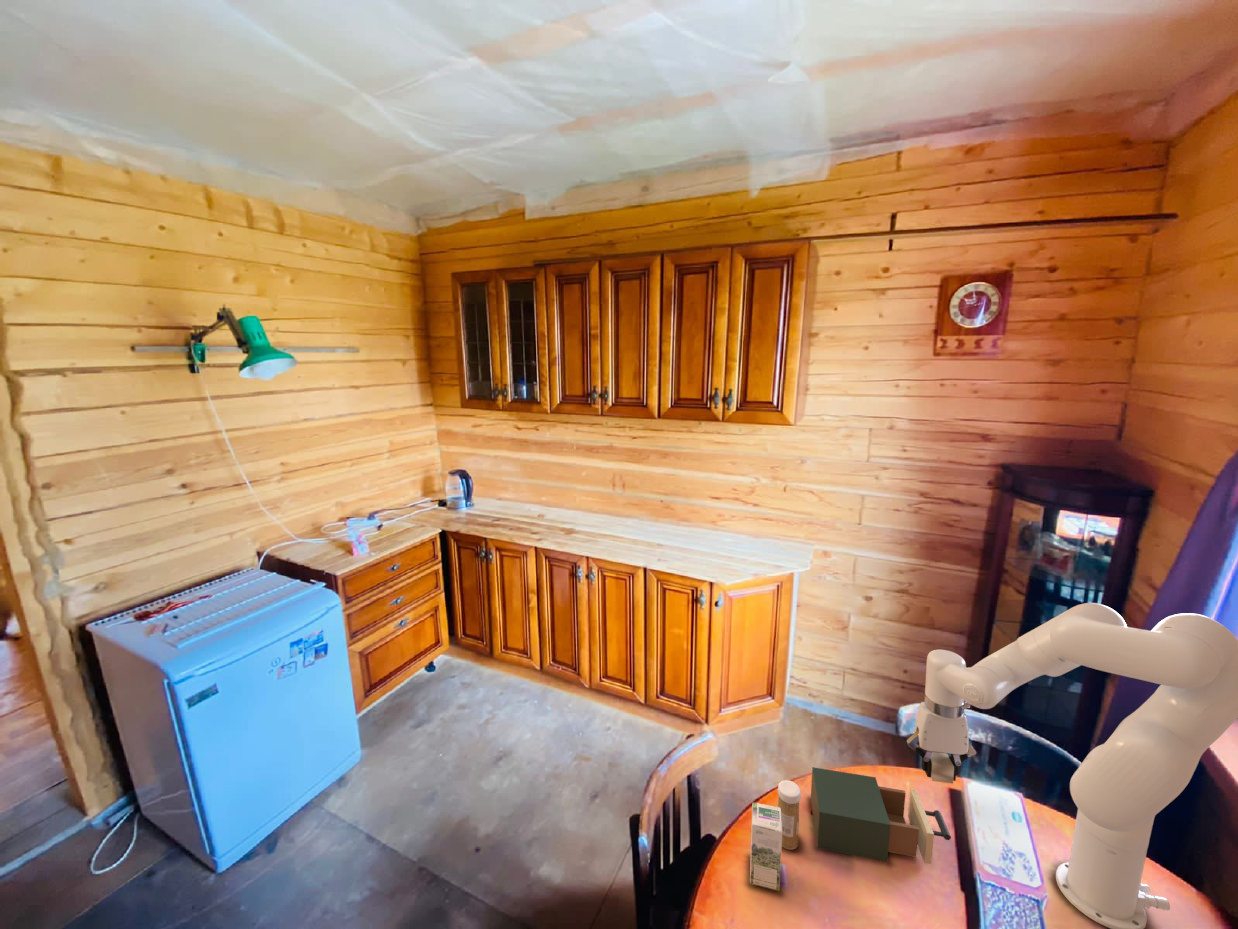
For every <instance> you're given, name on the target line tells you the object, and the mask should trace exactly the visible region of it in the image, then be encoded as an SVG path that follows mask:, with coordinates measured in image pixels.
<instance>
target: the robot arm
mask: <svg viewBox="0 0 1238 929" xmlns="http://www.w3.org/2000/svg"><path fill="white" fill-rule="evenodd" d="M1081 666H1083V667H1086V668H1091V669H1094V670H1097V671H1101V672H1105V673H1110V674H1113V675H1118V676H1122V677H1126V678H1132V679H1136V680H1139V681H1140V680H1141V681H1143V682H1144V681H1145V682H1149V683H1154V684H1157V685H1159V686H1158V687H1157V688H1156V690H1155V691H1154V693H1152V695H1150V697H1148V699H1146V700H1145V702H1143V703H1142V704H1141V705H1140V706H1139V707H1138V708H1137V709H1135V711H1133V712H1132V713H1130V714H1129V715H1127V716H1126V717H1125V718H1124V719H1123V720H1122V721H1121V722H1120V723H1119V724H1118V725H1117V727H1116V728H1115V729H1114V731H1113V733H1112V734H1111V735H1110V736H1109V737H1108V738H1107V740H1106V741H1105V742H1104V743H1102V744H1100V745H1097V746H1095V747H1094V748H1092V749H1091V751H1090V752H1089V753H1088V754H1087V755H1086V757H1085V758H1084V759H1083V761H1082V762H1081V763H1080V764H1079V766H1078V768H1077V769H1076V770H1075V771H1074V773H1073V775H1072V776H1071V778H1070V781H1069V793H1070V796H1071V799H1072V801H1073V803H1074V804H1075V806H1076V808H1077V811H1076V817H1075V823H1074V829H1073V834H1072V835H1073V837H1072V842H1071V849H1070V853H1069V854H1070V855H1069V860H1068V861H1066V862H1063V863H1060V864H1059V865H1058V866H1057V868H1056V871H1055V881H1056V884H1057V886H1058V888H1059V890H1060V892H1061V893H1062V894H1063V896H1064V897H1065V898H1066V899H1067V900H1068V901H1069V903H1070V904H1071V905H1072V906H1074V907H1075V908H1076V909H1077V910H1078V911H1079V912H1081V913H1082V914H1083V915H1085V916H1086V917H1088V918H1089V919H1091V920H1092V921H1094V922H1096V923H1097V924H1099V925H1101V926H1104V927H1106V928H1108V929H1145V928H1146V926H1147V922H1148V921H1147V920H1148V916H1147V912H1146V910H1145V909H1150V907H1152V908H1155V909H1158V910H1162V911H1168V912H1169V911H1171V905H1170V902H1169V901H1168V899H1167V898H1166V897H1164V896H1159V895H1155V894H1151V888H1150V886H1149V885H1148V884H1146V883H1142V878H1143V874H1144V869H1145V864H1146V859H1147V854H1148V848H1149V845H1150V839H1151V835H1152V830H1153V825H1154V821H1155V817H1156V816H1157V814H1159V813H1160V812H1161V811H1163V810H1164V809H1165V808H1166V807H1167V806H1169V804H1170V803H1172V802H1173V801H1174V800H1175V799H1176V798H1178V796H1180V795H1181V793H1182V792H1183V791H1184V790H1185V788H1186V787H1187V786H1188V784H1189V783H1190V781H1191V779H1192V777H1193V775H1194V774H1195V773H1194V772H1195V771H1196V769H1197V767H1198V765H1199V762H1200V760H1201V757H1202V756H1203V754H1204V753H1205V752H1206V751H1207V749H1209V748H1210V747H1211V746H1212V745H1213V744H1214V743H1215V742H1216V741H1217V740H1218V739H1220V738H1221V737H1222V735H1223V734H1224V733H1225V732H1226V731H1227V730H1228V729H1229V728H1230V727H1231V726H1232V725H1233V724H1234V723H1235V722H1236V721H1237V720H1238V638H1237V636H1236V635H1235V634H1234V633H1233V632H1232V631H1230V629H1228V628H1227V627H1226V626H1224V625H1223V624H1222V623H1220V622H1218V620H1215V619H1213V618H1211V617H1208V616H1207V615H1203V614H1199V613H1191V612H1189V613H1186V612H1185V613H1184V612H1183V613H1177V614H1173V615H1169V616H1167V617H1165V618H1164V619H1162V620H1161V621H1159V622H1158V623H1157V624H1156V625H1155V626H1154V627H1153V628H1152V629H1151V630H1148V629H1142V628H1137V627H1130V626H1127V623H1126V622H1125V620H1124V618H1123V617H1122V616H1121V614H1119V613H1118V612H1117V611H1116V610H1114V609H1113V608H1111V607H1109V606H1107V605H1104V604H1102V603H1097V602H1086V603H1085V602H1084V603H1081V604H1080V603H1079V604H1076V605H1075V606H1073V607H1071V608H1069V609H1066V610H1065V611H1064V612H1061V613H1060V614H1058V615H1056V616H1055V617H1053V618H1051V619H1049V620H1048V621H1046V622H1044V623H1041V625H1039V626H1037V627H1035V628H1034V629H1031V630H1030V631H1028V632H1026V633H1024V634H1022V635H1021V636H1018V638H1017V639H1016V640H1015V641H1013V642H1011V643H1009V644H1007V645H1006V646H1004V647H1002V648H1000V649H999V650H997V651H995V652H993V653H990V654H989V655H988V656H986V657H984V658H982V659H981V660H979V661H978V662H977V663H975V664H974V665H972V666H970V667H969V666H968V667H967V663H966V661H965V659H964V657H962V656H961V655H959V654H958V653H956V652H954V651H951V650H947V649H934V650H931V651H929V653H928V654H927V656H926V666H925V667H926V670H925V684H924V685H925V688H924V701H921V702H920V704H919V707H918V709H917V713H916V718H915V723H914V731H913V734H912V735H911V736H910V737H908V739H906V744H907V746H908V747H909V748H911V750H913V751H915V752H916V753H917V754H918V755H919V756H920V757H921V769H922V771H923V772H925V775H926V777H927V778H930V777H931V768H932V763H931V761H930V757H931V755H932V752H938V753H946V754H949V755H950V756H949V755H948V756H949V758H950V760H951V762H952V764H953V766H954V777H953V782H957V781H956V779H957V776H958V775H959V767H960V766H962V763H963V762H964V761H967V760H968V758H970V757H973V756H976V755H977V751H976V749H975V748H974V746H973V745H972V744H971V742H970V740H969V725H968V719H967V714H966V712H965V710H967V709H971V706H973V707H975V708H978V709H980V710H990V709H993V708H994V707H996V705H998V704H999V703H1000V702H1001V701H1002V700H1003V699H1004V698H1005V697H1007V696H1008V695H1009V694H1010V693H1011V692H1012V691H1014V690H1016V689H1017V688H1019V687H1020V686H1022V685H1024V684H1027V683H1029V682H1030V681H1032V680H1035V679H1037V678H1039V677H1041V676H1044V675H1045V676H1048V677H1053V678H1057V677H1061V676H1062V675H1064V674H1067V673H1068V672H1071V671H1073V670H1074V669H1076V668H1079V667H1081ZM1150 894H1151V895H1150Z"/></svg>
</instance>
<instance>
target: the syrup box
mask: <svg viewBox="0 0 1238 929" xmlns="http://www.w3.org/2000/svg"><path fill="white" fill-rule="evenodd" d="M751 804H752V805H751V828H750V830H751V831H750V857H749V858H750V860H749V861H750V865H749V867H750V868H749V882H750V883H749V884H750V885H752V886H756V887H760V888H765V889H768V890H772V891H776V892H779V891H780V886H781V885H780V884H781V865H782V863H781V862H782V848H783V847H782V821H781V808H779V807H778V806H774V805H769V804H763V803H758V802H755V801H752V803H751Z"/></svg>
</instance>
